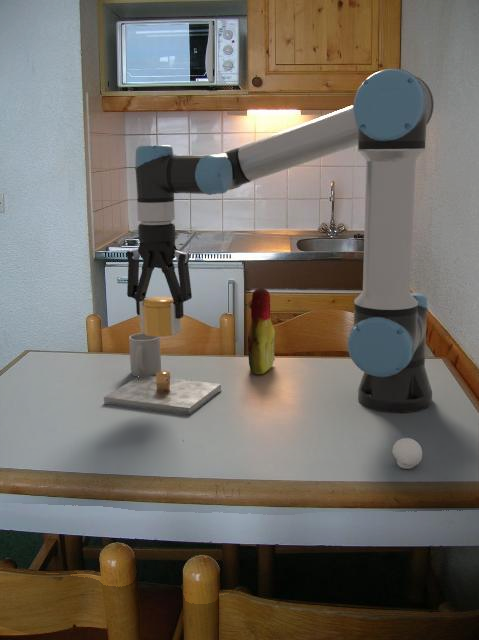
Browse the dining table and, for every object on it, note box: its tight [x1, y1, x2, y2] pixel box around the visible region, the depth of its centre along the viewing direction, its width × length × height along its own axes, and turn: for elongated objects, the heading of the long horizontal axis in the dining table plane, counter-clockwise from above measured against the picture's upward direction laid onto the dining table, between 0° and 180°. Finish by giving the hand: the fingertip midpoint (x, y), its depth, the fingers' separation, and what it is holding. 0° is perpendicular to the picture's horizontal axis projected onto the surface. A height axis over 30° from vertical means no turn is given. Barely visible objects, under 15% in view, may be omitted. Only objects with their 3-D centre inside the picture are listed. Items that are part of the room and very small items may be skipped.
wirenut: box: [143, 296, 174, 338], centre depth 156 cm, size 7×7×7 cm
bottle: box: [247, 287, 276, 375], centre depth 175 cm, size 12×6×20 cm, turn 167°
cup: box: [128, 332, 162, 377], centre depth 175 cm, size 7×10×9 cm
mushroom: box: [391, 437, 423, 470], centre depth 123 cm, size 5×5×5 cm
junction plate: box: [103, 370, 222, 416], centre depth 159 cm, size 20×16×6 cm
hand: (160, 331), depth 157 cm, fingers closed on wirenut, 7 cm apart
